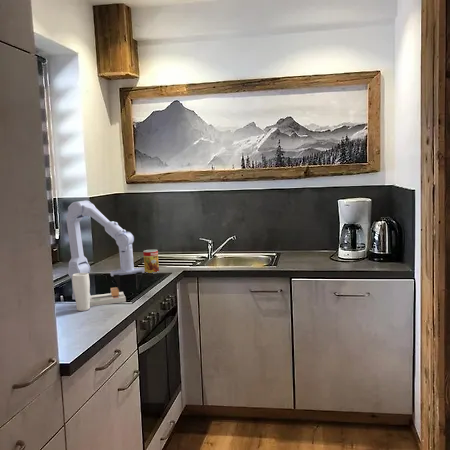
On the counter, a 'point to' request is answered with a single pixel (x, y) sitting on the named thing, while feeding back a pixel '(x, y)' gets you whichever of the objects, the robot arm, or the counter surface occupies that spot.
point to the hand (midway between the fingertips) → (128, 290)
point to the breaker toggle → (115, 291)
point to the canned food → (151, 261)
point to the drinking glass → (81, 290)
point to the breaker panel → (106, 299)
